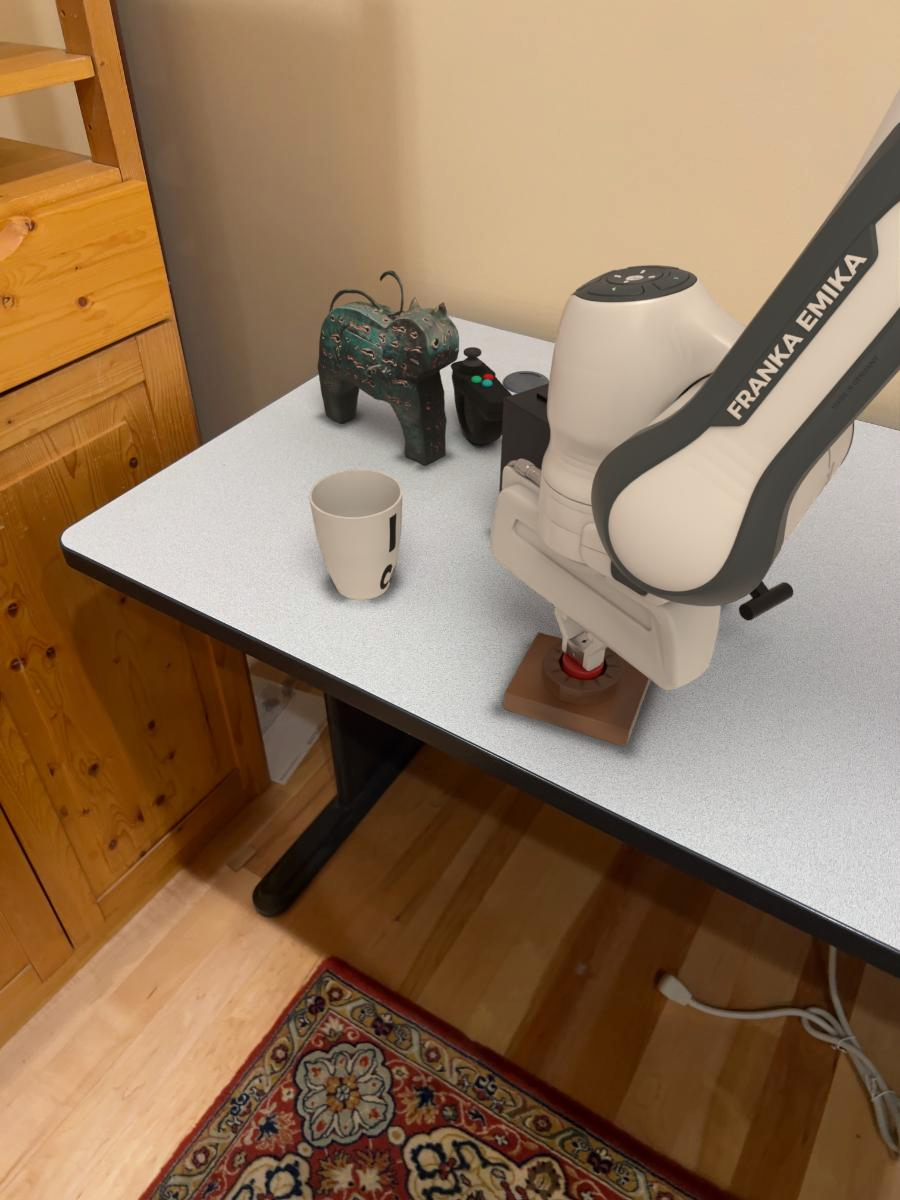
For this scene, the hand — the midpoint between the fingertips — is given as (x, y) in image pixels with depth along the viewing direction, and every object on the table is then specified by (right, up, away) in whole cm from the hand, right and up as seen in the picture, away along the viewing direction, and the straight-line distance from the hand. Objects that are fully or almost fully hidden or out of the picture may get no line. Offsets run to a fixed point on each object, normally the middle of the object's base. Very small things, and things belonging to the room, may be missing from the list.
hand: (581, 658), depth 69 cm
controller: (-7, +23, +35) cm, 43 cm away
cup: (-19, +6, +14) cm, 24 cm away
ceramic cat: (-18, +24, +36) cm, 47 cm away
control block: (0, -3, +2) cm, 4 cm away
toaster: (+2, +11, +20) cm, 23 cm away
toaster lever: (+11, +9, +5) cm, 15 cm away
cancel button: (0, -1, +1) cm, 2 cm away
